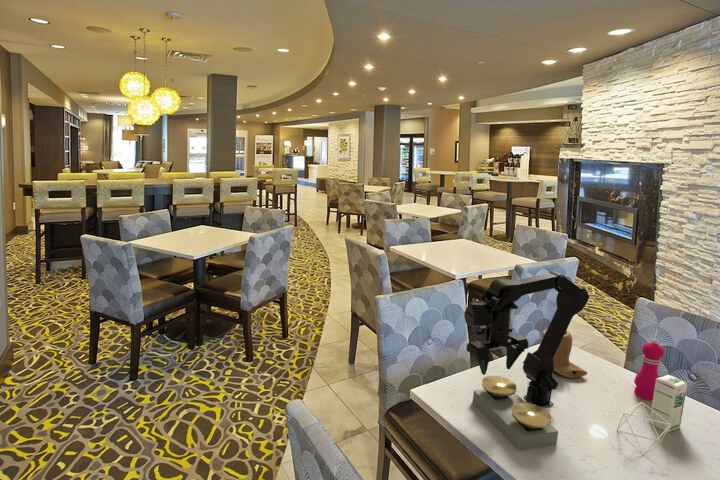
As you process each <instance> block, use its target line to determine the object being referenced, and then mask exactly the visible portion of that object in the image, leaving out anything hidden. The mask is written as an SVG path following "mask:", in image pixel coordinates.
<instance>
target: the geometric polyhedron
mask: <svg viewBox="0 0 720 480" xmlns="http://www.w3.org/2000/svg"><path fill="white" fill-rule="evenodd" d="M641 405H642V406H643V408H644V411H645V413H646V414H647V417H648V418H646V417H642V416H638V415H633V414H634V413H635V412H636V411H637V409H638V408H639V407H640V406H641ZM646 407H647V408H648V409H649V410H650V411H651V410H652V409H651V408H652V407H649V406H648V405H647V404H646V403H644V402H643V401H641V402H639V403H638V404H636V405H634V406H633V407H631V408H630V409H628V410H626V411H625V412H623V414H622V416H621V418H620V421H619V424H618V425H617V428H616V432H618V433H619V434H620V435H621V436H622V437H623V438H624V439H625V440H626V441H627V442H629V444H631V446H632V447H634V448H635V450H637V451H638V453H640V454H641V455H643V456H646V454H648V452H650V451H652V449H653V448H655V447H656V446H658V445H659V444H660V443H661V442H662V441H663V439H664V437H665V436H666V434H667V433H668V432H667V431H668V429H669V428H670V426H671V424H670V423H669V422H668V423H664V422H660V421H656V420H651V419H650V415H649V413H648V410H647V409H646ZM633 409H634V410H633ZM631 410H632V412H631V413H630V414H629V413H628V412H630V411H631ZM652 411H653V410H652ZM653 412H654V411H653ZM655 413H656V412H655ZM656 414H657V413H656ZM657 415H658V414H657ZM658 416H660V415H658ZM630 417H635V418H639V419H643V420H647V421H651V423H650V424H651V425H652V427H653V430H654V431H655V434H656V435H657V438H656V439H655V438H653V437H648V436H647V437H646V436H643V435H639V434H635V433H634V430H633V428H632V427H631V424H630V422H629V418H630ZM660 417H661V416H660ZM623 418H625V420H624V421H623ZM661 418H662V417H661ZM662 419H664V418H662ZM664 420H665V419H664ZM622 421H623V422H622ZM652 421H656V422H660V423H664V424H669V426H668V427H667V428H666V429H665V430H663V431H662V433H661V434H660V435H659V433H658V431H657V430H656V426H655V425H653V423H652ZM665 421H666V420H665ZM666 422H667V421H666ZM625 423H627V424H628V426H629V429H630V430H631V432H628V431H624V430H620V428H622V426H623V425H624V424H625ZM622 433H626V434H629V435H632V436H633V437H634V439H635V442H636V443H637V445H638V447H639V448H637V447H636V446H635V445H634V444H633V443H632V442H631V441H630V440H628V438H627V437H625V436H624V435H623V434H622ZM636 436H637V437H642V438H645V439H650V440H653V441H654V442H653V443H652V444H650V446H649V447H648V448H647V449H646V451H644V452H643V450H642V447H641V446H640V444H639V441H638V439H637V437H636ZM657 441H658V442H657ZM656 442H657V443H656Z"/></svg>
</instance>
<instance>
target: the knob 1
mask: <svg viewBox="0 0 720 480" xmlns="http://www.w3.org/2000/svg"><path fill="white" fill-rule="evenodd" d="M481 387H482V389H485V390H486V391H488V392H489V393H491V394H490V395H491V396H492V397H493V398H494V399H495V400H499V399H505V396H510V395H513V394H514V393H516V392H517V384H516V383H515V382H514V381H513V380H511V379H509V378H507V377H504V376H500V375H488V376H485V377H483V378H482V382H481Z"/></svg>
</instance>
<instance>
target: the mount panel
mask: <svg viewBox="0 0 720 480" xmlns="http://www.w3.org/2000/svg"><path fill="white" fill-rule="evenodd" d="M490 394H491V393H489V392H488V391H486V390H485V389H484V388H480V389H473V396H472V403H473V404H474V405H475V406H476V407H477V408H478V410H479V411H480V412H482V413H483V414H484V416H485V417H486V418H487V419H488V420H489V421H490V422H491V423H492V425H494V427H496V429H497V430H498V431H499V432H500V433H501V434H502V435H503V436H504V437H505V438H506V440H507V441H508V442H509V443H510V444H511V445H512V446H513V447H514V448H515V449H516V450H517V451H524V450H531V449H536V448H541V447H542V448H543V447H549V446H550V447H551V446H555V445H557V444H558V438H559V430H558V429H556V428H555V426H553V425H552V424H551V423H550V425H549V426H547V427H544V428H538V430H537V431H530V432H527V431H526V430H525V429H524V428H523V427H522V426H521V423H519V422H518V421H517V420H515V419H514V417H513V416H512V408H513V406H514V405H516V404H518V403H527V402H526V401H525V400H524V399H523V398H522V397H521V396H519V395H518V394H517V393H516V392H515V393H514V394H513V395H510V396H505V399H499V400H495V399H494V398H493V397H492V396H491V395H490Z"/></svg>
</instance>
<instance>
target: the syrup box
mask: <svg viewBox="0 0 720 480" xmlns="http://www.w3.org/2000/svg"><path fill="white" fill-rule="evenodd" d="M658 377H659V376H658ZM687 388H688V382H687V381H684V380H683V379H681V378H678V377H675V376H673V375H670V374H666V375H662V376H660V377H659V378H656V383H655V389H654V395H653V400H652V403H651V407H650V408H651V409H652V410H653V411H654V412H653V411H652V410H651V409H650V415H649V417H650V419H651V420H656V421H660V422H664V423H668V422H669V423H670V424H671V426H670V428H669V429H668V431H667V433H671V432H672V431H675V430H678V429H680V428H681V424H682V416H683V411H684V405H685V402H686V401H685V399H686V393H687V390H688V389H687ZM655 412H656V413H657V414H658V415H660V416H661V417H662V418H664V419H665V420H666V421H667V422H666V421H665V420H664V419H662V418H661V417H660V416H658V415H657V414H656V413H655ZM648 421H649V423H650V424H652V423H653V425H654V427H657V428H659V429H660V430H663V431H664V430H665V429H666V428H667V427H668V426H669V424H664V423H660V422H656V421H652V423H651V421H650V420H648ZM653 425H652V426H653Z"/></svg>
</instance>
